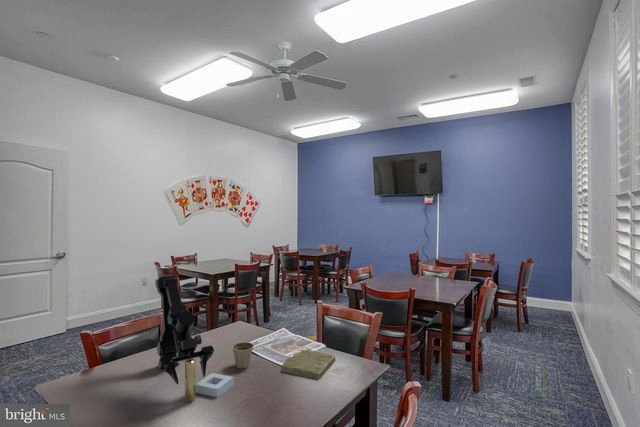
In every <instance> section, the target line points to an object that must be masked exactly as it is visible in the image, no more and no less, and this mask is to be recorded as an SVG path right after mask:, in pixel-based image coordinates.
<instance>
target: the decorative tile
mask: <svg viewBox="0 0 640 427" xmlns="http://www.w3.org/2000/svg"><path fill="white" fill-rule="evenodd" d="M335 361H336V356H335V355H334V354H330V353H327V352H321V351H317V350H316V351H315V350H311V349H302V350H301V351H300V352H299V353H297V354H294V355H293V356H289V357H287V358H286V359H285V361H283V364H281V366H280V372H281V373H286V374H289V375H290V374H291V375H295V376H299V377H303V378H309V379H314V380H320V379H321V377H322V376H324V375H325V373H326V372H327V370H329V368H330V367H332V365H333V364H334V363H335Z"/></svg>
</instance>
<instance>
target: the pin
mask: <svg viewBox="0 0 640 427" xmlns="http://www.w3.org/2000/svg"><path fill="white" fill-rule="evenodd" d="M195 359H196V358H192V359H188V360H184V361H185V362H184V363H185V364H184V403H186V404H192V403H193V402H195V401H196V393H195V384H196V360H195Z"/></svg>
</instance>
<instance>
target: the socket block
mask: <svg viewBox="0 0 640 427" xmlns="http://www.w3.org/2000/svg"><path fill="white" fill-rule="evenodd" d="M234 383H235V382H234V376H230V375H226V374H220V373H215V372H211V373H210V374H209V375H207V376H205V377H203V378H202V379H201V380H200V381H198V382H197V383H195V394H200V395H203V396H204V395H205V396H209V397H214V398H219V397H221V396H222V395H223V394H224V393H225V392H226V391H228V390H229V389H230V388H232V387H233V386H234Z"/></svg>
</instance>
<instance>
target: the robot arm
mask: <svg viewBox="0 0 640 427" xmlns="http://www.w3.org/2000/svg"><path fill="white" fill-rule="evenodd" d="M178 278H179V277H175V276H174V275H163V276H158V278H157V279H155V287H156V288H157V289H156V290H157V293H158V294H159V295H160V297H161V310H162V327H163V328H162V329H163V330H162V331H161V334H160V335H159V341H158V343H157V347H156V352H157V354H158V356H159V359H158V363H157V369H158V371H162V373H165V372H166V373H167V374H168V375H169V376H170V378H171V379H172V380H173V382H174V383H175V384H176V385H179V378H178V373H177V371H176V367H177V366H179V365H180V363H179V362H182V361H186V360H189V359H196V358H199V359H200V361H199V363H200V368H201V373H202V374H201V375H202V377H203V378H206V371H207V363H208V361H209V359H211V358H212V356H213V354H214V353H215V349H214V346H213V345H211V344H210V345H206V346H202V347H201V349H200V351H196V350H197V347H198V345H201V344H202V343H203V342H202V341H203V340H202V336H201V334H198V335H195V336H194V337H192V335H191V331H192V329H193V326H194V323H195V322H196V321H195V320H196V317H195V315H194V314H193V313H192V312H190V311H189V310H188V308H187V306H186V305H185V304H183V303H182V299H181V296H180V291H179V288H178V286H179V281H178V280H179V279H178Z"/></svg>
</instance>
